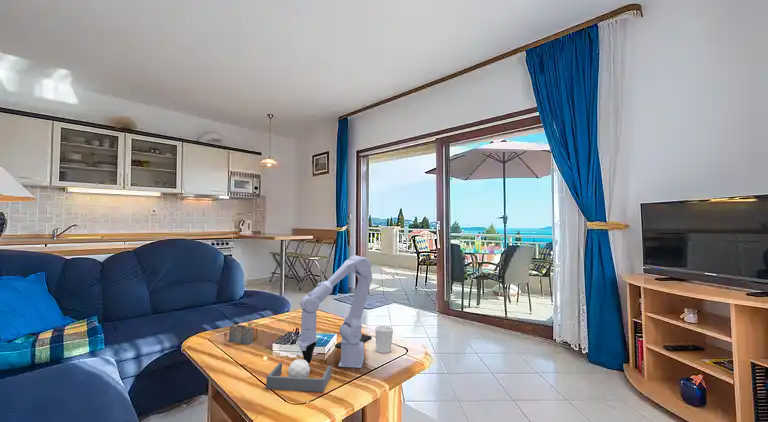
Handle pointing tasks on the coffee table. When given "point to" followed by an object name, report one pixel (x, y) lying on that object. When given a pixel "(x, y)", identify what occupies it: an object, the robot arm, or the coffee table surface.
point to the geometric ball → (299, 369)
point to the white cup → (383, 339)
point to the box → (296, 381)
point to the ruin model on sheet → (241, 334)
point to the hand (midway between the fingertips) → (307, 362)
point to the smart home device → (363, 339)
